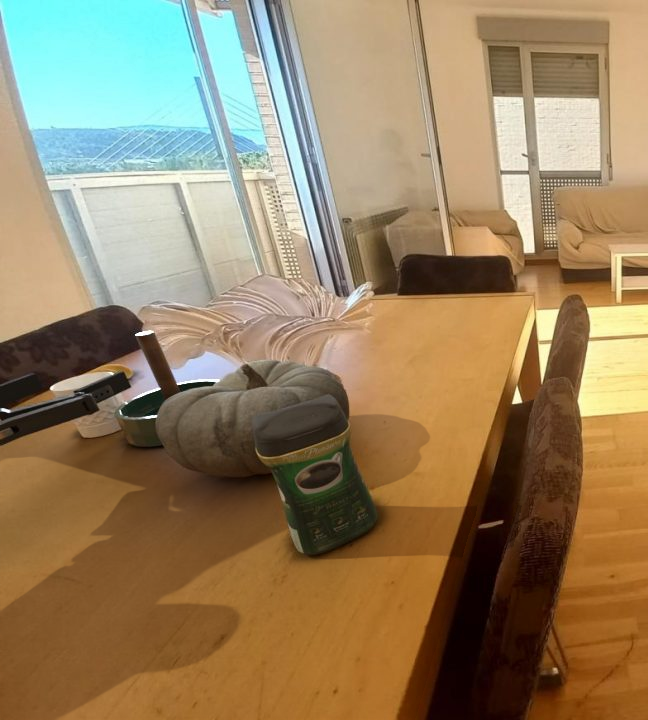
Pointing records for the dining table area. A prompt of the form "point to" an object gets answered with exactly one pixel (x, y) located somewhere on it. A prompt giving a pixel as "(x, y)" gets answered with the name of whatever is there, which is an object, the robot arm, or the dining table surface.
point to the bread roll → (113, 369)
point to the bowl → (148, 414)
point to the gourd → (237, 414)
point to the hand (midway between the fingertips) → (81, 380)
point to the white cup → (105, 417)
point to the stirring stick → (158, 363)
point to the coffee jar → (315, 473)
